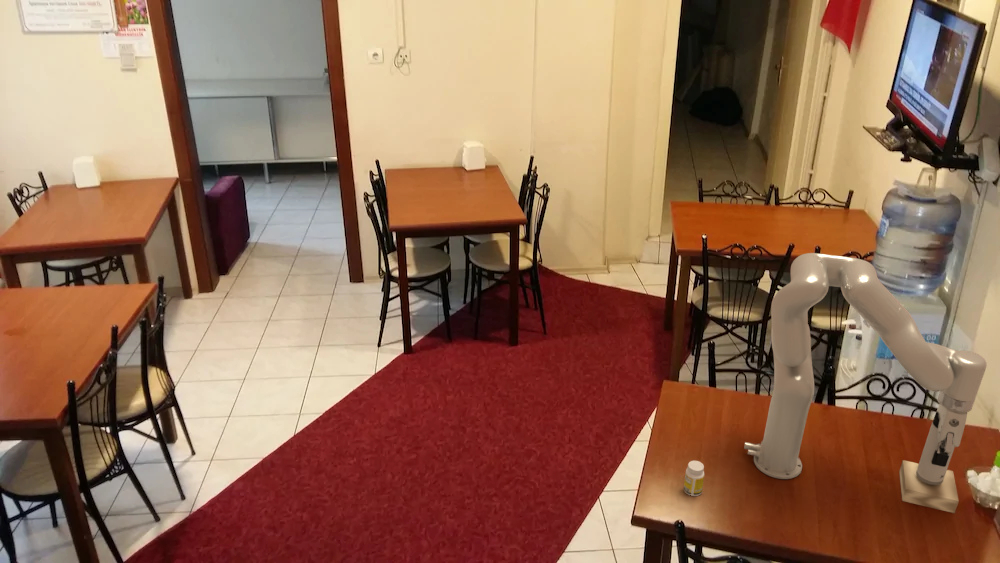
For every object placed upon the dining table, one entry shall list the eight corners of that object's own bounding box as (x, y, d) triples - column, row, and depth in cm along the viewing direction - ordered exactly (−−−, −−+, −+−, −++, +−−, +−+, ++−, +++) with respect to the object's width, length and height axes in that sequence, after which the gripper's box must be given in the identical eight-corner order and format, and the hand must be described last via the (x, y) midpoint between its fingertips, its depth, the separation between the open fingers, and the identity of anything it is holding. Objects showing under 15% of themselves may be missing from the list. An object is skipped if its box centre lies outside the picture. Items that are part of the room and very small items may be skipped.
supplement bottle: (702, 486, 202) (706, 461, 198) (700, 498, 198) (704, 473, 194) (684, 482, 204) (687, 457, 200) (682, 494, 200) (685, 469, 196)
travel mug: (947, 487, 195) (969, 424, 186) (919, 483, 196) (940, 421, 187) (939, 471, 200) (961, 409, 191) (912, 467, 201) (932, 405, 192)
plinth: (902, 500, 197) (905, 488, 195) (899, 471, 207) (902, 460, 205) (954, 513, 193) (958, 501, 191) (949, 482, 203) (953, 471, 201)
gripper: (978, 422, 178) (957, 481, 186) (968, 383, 193) (949, 439, 201) (942, 415, 181) (923, 474, 189) (935, 376, 195) (917, 433, 203)
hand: (936, 455), depth 195 cm, fingers closed on travel mug, 6 cm apart
